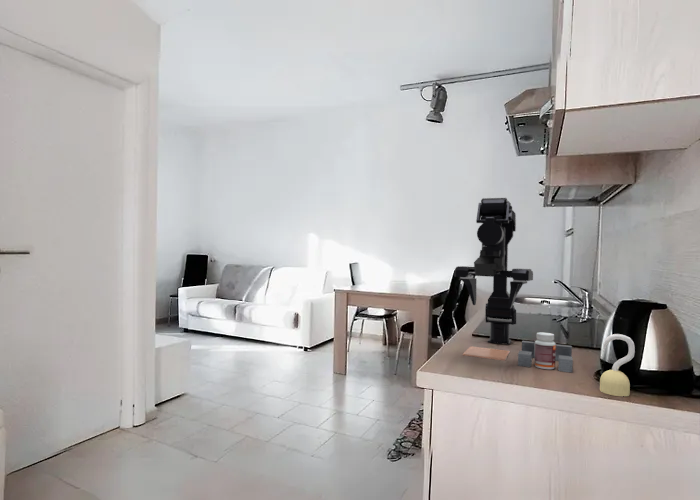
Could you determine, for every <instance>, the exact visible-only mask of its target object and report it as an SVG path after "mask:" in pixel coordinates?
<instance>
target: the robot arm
mask: <svg viewBox="0 0 700 500" xmlns="http://www.w3.org/2000/svg"><path fill="white" fill-rule="evenodd" d="M477 206H478V207H477V214H476V220H475V222H476V224H480V225H479V226H478V228H477V231H476V236H477V240H479V242H480V243H481V249H480V251H479V255H478V256H479V257H477V258H476V259H475V260H474V262H473V266H468V265H467V266H456V267H455V268H454V271H453V272H454V274H453V276H454V278H459V279H458V280H459V281H461V282H463V283H464V285H465V287H466V289H467V291H468V294H469V297H470V300H471V304H472V305H473V306H476V305H477V278H476V277H489V278H490V277H491V278H493V281H492V282H493V283H492V293H491V294H490V295H489V297H488V298H487V302H486V303H485V311H484V313H485V315H484V316H485V323H490V326H489V327H490V329H489V331H490V332H489V333H490V334H489V338H488V340H487V343H490V344H491V343H492V344H499V345H500V344H501V345H510V344H511V343H512V339H510V325H517V310H516V308H515V305H514V304H515V300H516V298H517V297H518V294H519V292H520V291H521V288H522V286H523V285H527V284H528V282H530V281H534V272H533V270H532V269H531V268H512V269H511V270H508V266H509V265H508V262H509V261H508V260H509V259H508V256H509V253H508V252H509V244H510V242H511V241H512V240H513V237H514V232H516V231H517V219H516V217H517V216H516V215H517V214H516V212H515V211H514V210H513V206H512V204H511V202H510V201H509V200H508V198H507V197H493V198H491V197H487V198H485V197H483V198H481V200H480V202H478V205H477ZM474 276H476V277H474ZM508 278H509V279H510V278H512V280H511V281H509V286H510V290H509V292H508Z"/></svg>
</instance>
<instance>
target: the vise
mask: <svg viewBox="0 0 700 500" xmlns="http://www.w3.org/2000/svg"><path fill="white" fill-rule="evenodd" d="M555 344H556V354H555V362H556V361H557V362H558V371H559V372H564V373H573V362H574V361H573V353H572V352H573V351H572V350H573V346H572V345H565V344H557V343H555ZM533 359H535V341H530V340H529V341H528V340H522V341H521V350H519V351H518V353H517V366H519V367H526V368H531V367H532V364H533V362H532V361H533Z"/></svg>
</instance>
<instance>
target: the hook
mask: <svg viewBox="0 0 700 500" xmlns="http://www.w3.org/2000/svg"><path fill="white" fill-rule="evenodd" d="M614 340H621V341H624V342H626V344H627V347H628V352H627V355H625V356H624V357H622V358H619V359H618V360H616V361H615V362H614V363H613V365H612V367H611V369H609V370H606V371H604V372H603V373H602V374H601V376H600V379H599V391H600V392H601V393H603V394H605V395H610V396H615V397H623V396H624V397H629V396H630V391H631V390H630V389H631V388H630V387H631V384H630V380H629V377H628V376H627V375H626V374H625V373H624V372H622V371H621V370H619V369H620V367H621V366H622V365H624V364H627V363H628V362H630V361H631V360H632V359H633V358H634V357H635V353H636V351H635V349H636V348H635V347H636V346H635V343H634V341H633V339H632V338H631V337H629V336H627V335H625V334H620V333H614V334H610V335H608V336H607V337H606V338H605V339H604V341H603V349H602V350H603V351H602V353H604V352H605V349H606V348H607V346H608V345H609V343H610V342H612V341H614Z"/></svg>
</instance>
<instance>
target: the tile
mask: <svg viewBox="0 0 700 500" xmlns="http://www.w3.org/2000/svg"><path fill="white" fill-rule="evenodd" d="M510 353H511V351H510V350H505V349H504V350H503V349H497V348H490V347H489V348H488V347H487V348H486V347H478V346H472V345H471V346H469V347H468V348H467V349H466V350H465V351H464V352H463V353H462V356H466V357H472V358H473V357H475V358H480V359H490V360H496V361H503V362H504V361H507V359H508V357H509V355H510Z"/></svg>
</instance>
